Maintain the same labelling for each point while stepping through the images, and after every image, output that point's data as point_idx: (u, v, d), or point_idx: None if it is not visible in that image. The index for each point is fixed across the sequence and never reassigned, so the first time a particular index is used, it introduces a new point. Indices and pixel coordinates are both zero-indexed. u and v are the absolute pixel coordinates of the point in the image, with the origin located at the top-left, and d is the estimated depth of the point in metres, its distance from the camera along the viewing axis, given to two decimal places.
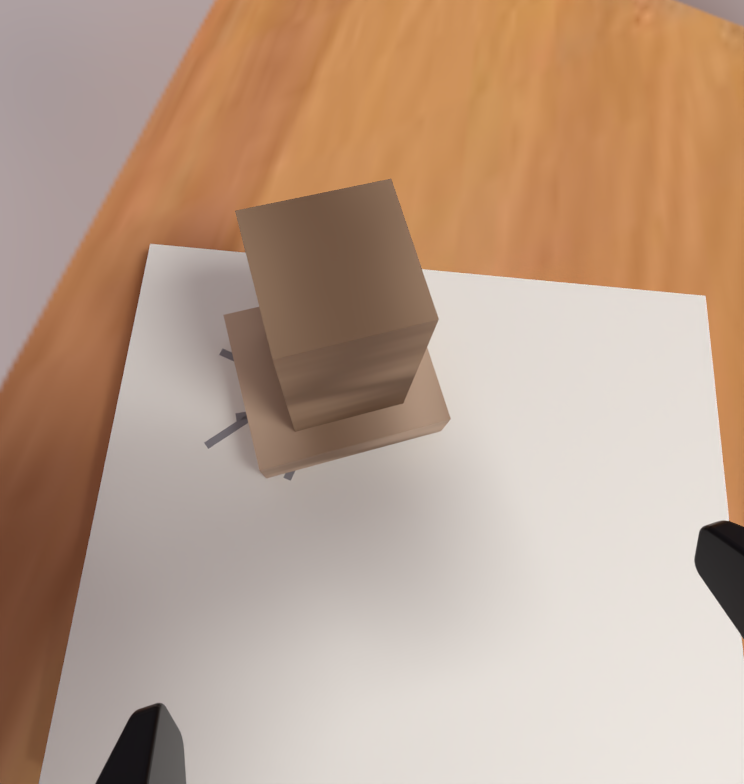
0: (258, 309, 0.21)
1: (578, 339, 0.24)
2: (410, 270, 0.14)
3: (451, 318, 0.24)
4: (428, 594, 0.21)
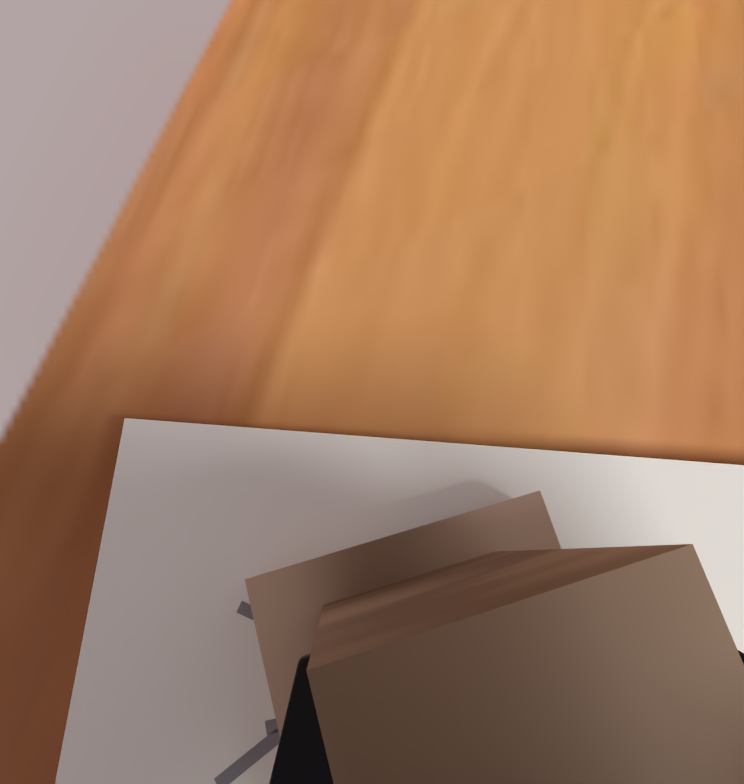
0: (304, 567, 0.13)
1: None
2: None
3: (601, 534, 0.15)
4: None
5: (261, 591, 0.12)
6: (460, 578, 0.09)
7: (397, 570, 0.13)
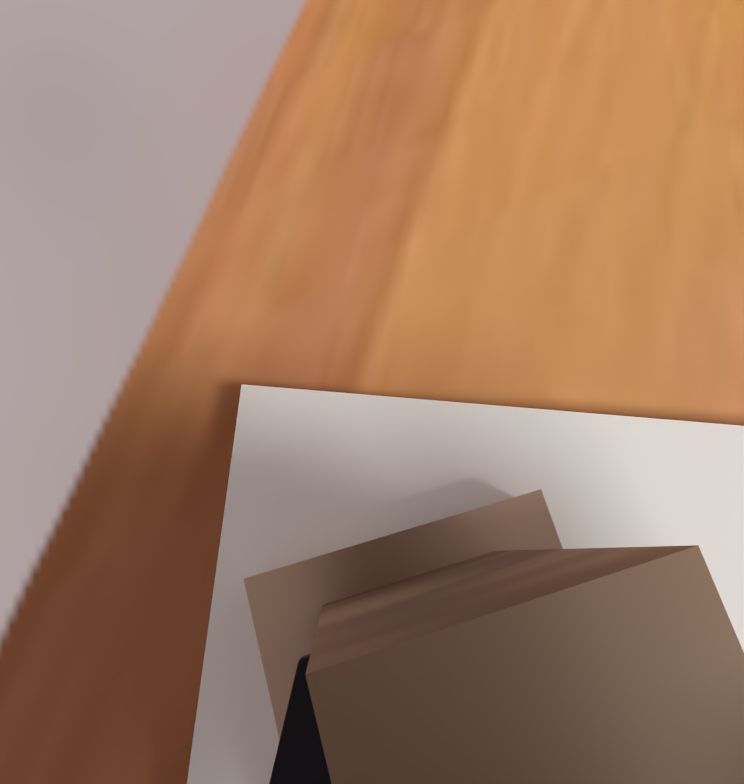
0: (303, 566, 0.13)
1: None
2: None
3: (707, 499, 0.16)
4: None
5: (260, 590, 0.12)
6: (461, 578, 0.09)
7: (397, 569, 0.13)
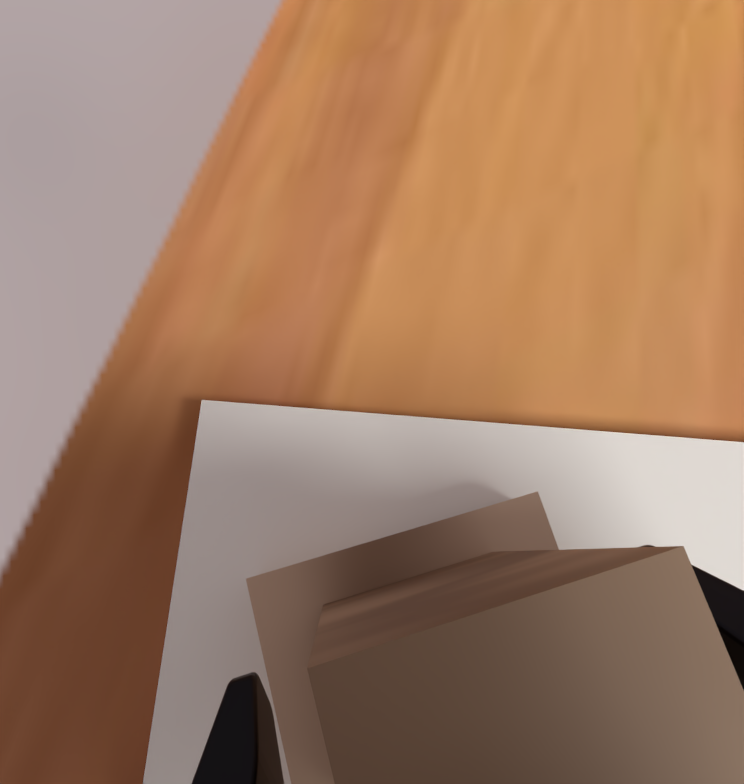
0: (304, 566, 0.13)
1: None
2: None
3: (665, 513, 0.16)
4: None
5: (262, 590, 0.13)
6: (458, 578, 0.09)
7: (396, 570, 0.13)
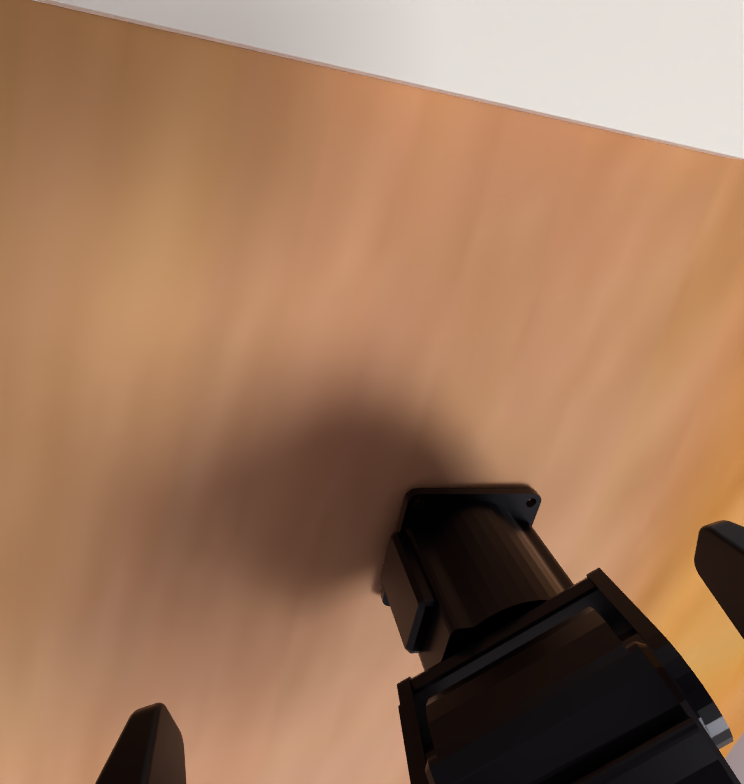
0: None
1: None
2: None
3: None
4: None
5: None
6: None
7: None
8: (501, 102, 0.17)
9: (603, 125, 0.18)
